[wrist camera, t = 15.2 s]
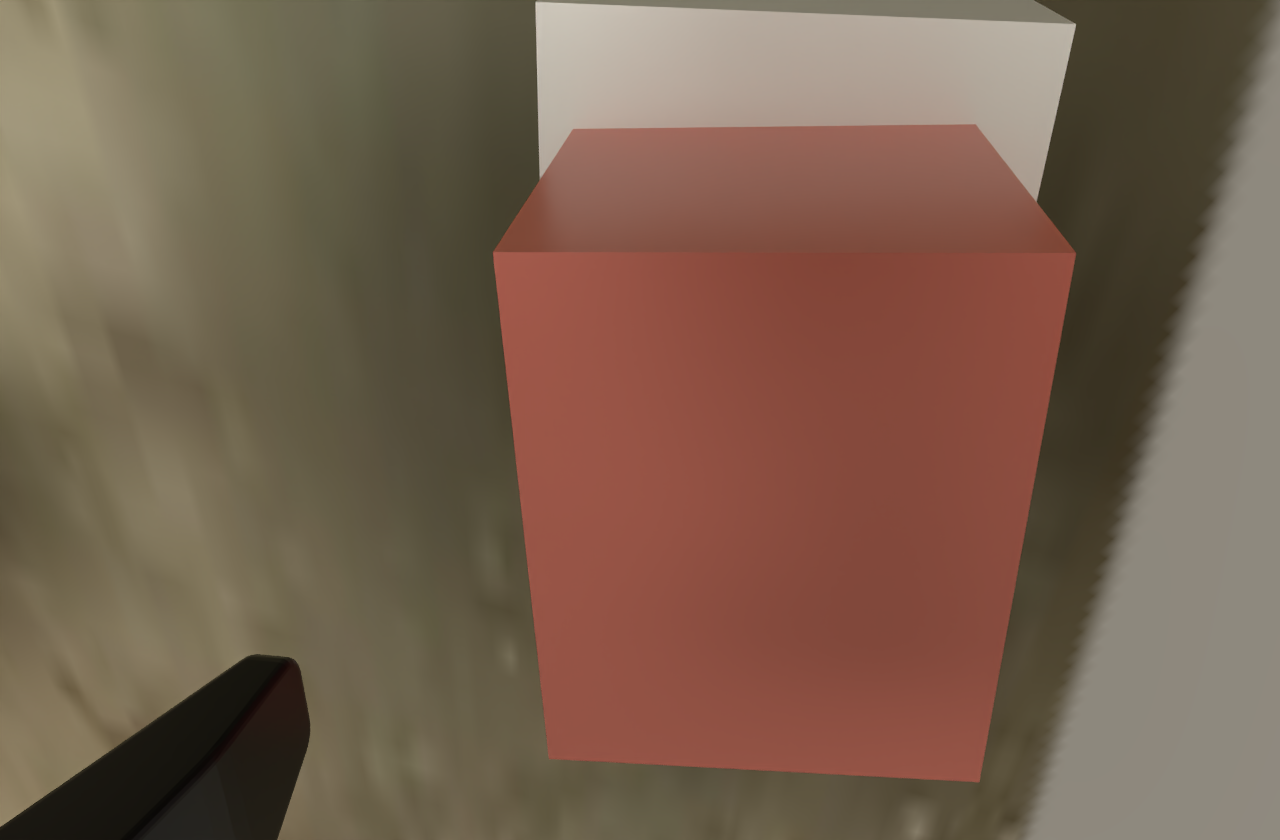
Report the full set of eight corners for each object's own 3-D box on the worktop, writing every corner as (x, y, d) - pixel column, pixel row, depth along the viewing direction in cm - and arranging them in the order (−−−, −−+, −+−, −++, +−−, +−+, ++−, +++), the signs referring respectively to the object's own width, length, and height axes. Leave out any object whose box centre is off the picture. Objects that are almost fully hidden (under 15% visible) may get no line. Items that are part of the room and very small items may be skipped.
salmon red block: (923, 545, 17) (978, 781, 13) (600, 535, 18) (548, 758, 13) (975, 124, 14) (1076, 253, 9) (573, 128, 14) (493, 252, 10)
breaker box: (908, 486, 22) (941, 625, 18) (585, 462, 22) (549, 593, 18) (1002, -17, 17) (1076, 24, 13) (585, -34, 17) (536, 1, 14)
